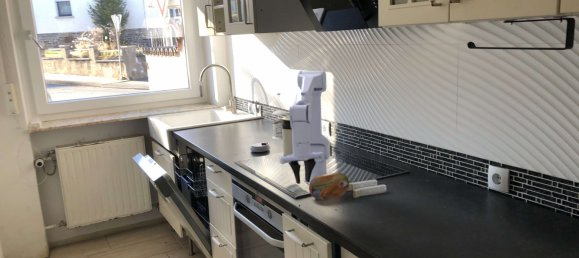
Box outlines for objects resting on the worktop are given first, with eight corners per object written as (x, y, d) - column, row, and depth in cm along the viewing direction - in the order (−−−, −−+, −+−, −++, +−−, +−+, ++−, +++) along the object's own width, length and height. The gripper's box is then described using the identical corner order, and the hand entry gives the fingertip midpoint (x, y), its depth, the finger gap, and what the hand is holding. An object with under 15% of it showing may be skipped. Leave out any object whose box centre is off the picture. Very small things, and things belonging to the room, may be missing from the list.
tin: (312, 202, 166) (311, 178, 164) (307, 199, 169) (307, 176, 167) (349, 194, 172) (349, 171, 171) (345, 192, 175) (344, 169, 173)
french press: (269, 136, 272) (266, 92, 267) (287, 134, 277) (285, 91, 272) (275, 140, 264) (273, 94, 259) (295, 137, 268) (293, 92, 263)
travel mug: (285, 157, 226) (284, 119, 222) (281, 153, 233) (280, 117, 230) (302, 155, 228) (300, 118, 224) (297, 152, 235) (296, 115, 232)
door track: (342, 189, 177) (342, 183, 177) (374, 185, 181) (374, 178, 181) (354, 197, 168) (354, 191, 168) (387, 192, 172) (387, 186, 172)
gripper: (283, 146, 149) (285, 188, 151) (327, 141, 153) (328, 182, 156) (276, 142, 155) (278, 182, 158) (318, 137, 160) (319, 176, 162)
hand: (302, 182), depth 157 cm, fingers open, 3 cm apart
